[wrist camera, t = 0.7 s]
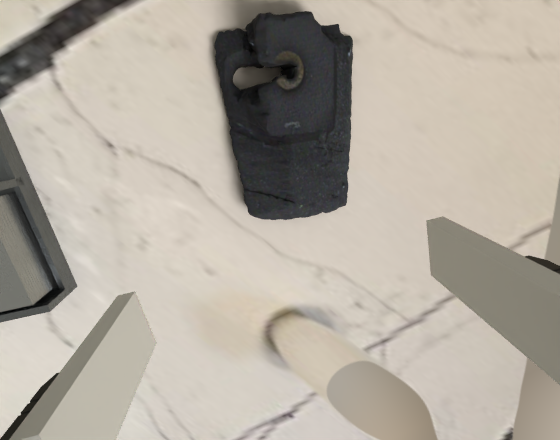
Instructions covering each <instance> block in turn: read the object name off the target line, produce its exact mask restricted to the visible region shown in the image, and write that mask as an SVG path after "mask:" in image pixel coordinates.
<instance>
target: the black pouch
mask: <svg viewBox="0 0 560 440" xmlns="http://www.w3.org/2000/svg"><path fill="white" fill-rule="evenodd" d="M245 34H247V35H246V36H245ZM214 47H215V50H216V56H215V58H216V65H217V68H218V72H219V77H220V85H221V89H222V93H223V98H224V103H225V106H226V111H227V116H228V118H229V125H230V127H231V129H230V135H231V138H232V146H233V151H234V155H235V156H236V160H238V169H239V172H240V174H241V175H240V178H241V182H242V184H243V188H244V202H245V204H246V205H247V207H248V213H249V214H250V215H252V216H254V217H257V218H260V219H271V220H276V219H284V220H287V219H293V218H299V217H310V216H313V215H317V214H319V213H322V212H324V213H328V212H331V211H333V210H336V209H337V208H339V207H342V206H345V205H346V203H347V192H348V181H347V172H348V169H349V166H348V164H349V151H350V139H351V120H350V117H351V103H352V101H351V89H352V82H351V76H352V60H353V53H352V47H353V40H352V38H351V37H350V36H344V35H343V34H341V33H340V29H339V24H335V25H329V26H321V25H320V24H319V23H318V22H317V21H316V20H315V19H314V16H313V14H312V12H309V11H304V12H296V13H293V14H283V15H273V14H271V13H270V12H269V13H266V14H262V13H259V14H258V15H257V17H256V18H255V19H254V20H253V21H252V22H251V23H249V24H248V25H247V26H246V32H245V31H244V30H242V29H236V30H234V31H229V30H228V31H225V32H219V33H218V35H217V38H216V41H215V46H214ZM247 66H255V67H257V68H263V67H264V66H265V67H270V68H272V67H280V68H281V69H282V70H283V71H281V74H282V75H281V76H278V77H275V78H274V79H273V80H272V82H269V83H264V84H260V85H256V86H253V87H250V88H248V89H243V90H239V89H238V88H237V87H236V86H235V85H234V83H233V75H234V73H235V71H236V70H237V69H238V68H240V67H247Z"/></svg>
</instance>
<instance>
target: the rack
mask: <svg viewBox="0 0 560 440" xmlns="http://www.w3.org/2000/svg"><path fill="white" fill-rule="evenodd" d="M76 287H77V284H76V282H75V280H74V278H73V275H72V273H71V271H70V268H69V266H68V264H67V262H66V259H65V257H64V255H63V252H62V250H61V248H60V245H59V243H58V241H57V239H56V236H55V234H54V232H53V229H52V227H51V225H50V223H49V220H48V218H47V216H46V213H45V211H44V209H43V206H42V204H41V202H40V200H39V197H38V195H37V193H36V190H35V188H34V186H33V183H32V181H31V179H30V177H29V174H28V172H27V170H26V167H25V165H24V163H23V161H22V158H21V156H20V154H19V151H18V149H17V147H16V144H15V142H14V140H13V138H12V135H11V133H10V131H9V128H8V126H7V124H6V122H5V119H4V117H3V115H2V112H1V110H0V322H4V321H9V320H13V319H18V318H22V317H27V316H32V315H36V314H41V313H45V312H50V311H51V310H52V309H53V308H55V307H56V306H57V305H58V304H59V303H60V302H61V301H62V300H63V299H64V298H65V297H66V296H67V295H69V294H70V293H71V292H72V291H73V290H74V289H75V288H76Z"/></svg>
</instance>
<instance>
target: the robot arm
mask: <svg viewBox="0 0 560 440" xmlns="http://www.w3.org/2000/svg"><path fill="white" fill-rule="evenodd" d="M427 233H428V245H429V257H430V270H431V276H433V277H434V278H435V279H436V280H437V281H438V282H440V283H441V284H442V285H443V286H444V287H446V288H447V289H448V290H449V291H450V292H451V293H453V294H454V295H455V296H456V297H457V298H458V299H460V300H461V301H462V302H463V303H464V304H465V305H467V306H468V307H469V308H470V309H471V310H472V311H474V312H475V313H476V314H477V315H478V316H480V317H481V318H482V319H483V320H484V321H485V322H487V323H488V324H489V325H490V326H491V327H492V328H494V329H495V330H496V331H497V332H498V333H499V334H501V335H502V336H503V337H504V338H505V339H506V340H508V341H509V342H510V343H511V344H512V345H514V346H515V347H516V348H517V349H518V350H519V351H521V352H522V353H523V354H524V355H525V356H526V357H528V358H529V359H530V360H531V361H532V362H534V363H535V364H536V365H537V366H538V367H539V368H541V369H542V370H543V371H544V372H545V373H546V374H548V375H549V376H550V377H551V378H552V379H553V380H555V381H556V382H557V383H558V384H559V385H560V266H558V265H556V264H554V263H552V262H550V261H548V260H544V259H540V258H536V257H532V256H525V257H524V256H522V255H520V254H518V253H516V252H514V251H512V250H510V249H508V248H506V247H504V246H502V245H500V244H498V243H496V242H494V241H492V240H490V239H488V238H486V237H483V236H481V235H479V234H477V233H475V232H473V231H471V230H469V229H467V228H465V227H463V226H461V225H459V224H457V223H455V222H453V221H451V220H449V219H447V218H445V217H439V218H435V219H431V220H427ZM155 345H156V340H155V338H154V336H153V333H152V331H151V328H150V326H149V324H148V321H147V319H146V316H145V314H144V312H143V309H142V307H141V304H140V302H139V300H138V297H137V295H136V292H131V293H127V294H123V295H119V296H117V297H116V299H115V300H114V301H113V303H112V304H111V305H110V307H109V308H108V309H107V311H106V312H105V313H104V315H103V316H102V317H101V319H100V320H99V321H98V323H97V324H96V325H95V327H94V328H93V329H92V331H91V332H90V333H89V335H88V336H87V337H86V338H85V340H84V341H83V342H82V344H81V345H80V346H79V348H78V349H77V350H76V352H75V353H74V354H73V356H72V357H71V358H70V360H69V361H68V362H67V364H66V365H65V366H64V368H63V369H62V370H61V372H60V373H56V374H55V375H54V376H53V377H52V378H51V379H50V380H48V381H47V382H46V383H45V384H44V385H43V386H42V387H41V388H40V389H39V390H38V392H37V393H36V394H35V395H34V397H33V398H32V399H31V401H30V403H29V404H27V406H26V407H25V408H24V409H23V411H22V412H21V415H20V416H18V417H17V418H16V420H15V421H14V422H13V423H12V425H11V426H10V427H9V429H8V430H7V431H6V432H5V434H4V435H3V436H2V437H1V439H0V440H116V438H117V436H118V433H119V431H120V428H121V426H122V424H123V421H124V419H125V417H126V414H127V412H128V409H129V407H130V405H131V402H132V400H133V398H134V395H135V393H136V390H137V388H138V386H139V383H140V381H141V378H142V376H143V374H144V371H145V369H146V367H147V364H148V362H149V359H150V357H151V355H152V352H153V350H154V348H155Z"/></svg>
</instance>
